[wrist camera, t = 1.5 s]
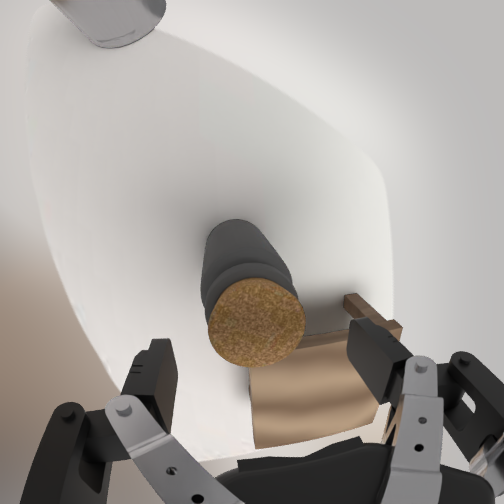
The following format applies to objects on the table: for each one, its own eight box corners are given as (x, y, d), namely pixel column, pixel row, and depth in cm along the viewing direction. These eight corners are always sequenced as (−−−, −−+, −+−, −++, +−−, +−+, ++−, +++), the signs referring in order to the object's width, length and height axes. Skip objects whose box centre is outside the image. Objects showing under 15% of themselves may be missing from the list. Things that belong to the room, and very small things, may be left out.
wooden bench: (239, 303, 29) (249, 355, 20) (360, 289, 30) (402, 327, 21) (246, 396, 32) (255, 449, 24) (345, 378, 34) (372, 422, 25)
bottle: (235, 206, 26) (258, 245, 11) (277, 246, 27) (339, 322, 13) (193, 250, 26) (170, 334, 12) (236, 287, 28) (257, 391, 14)
